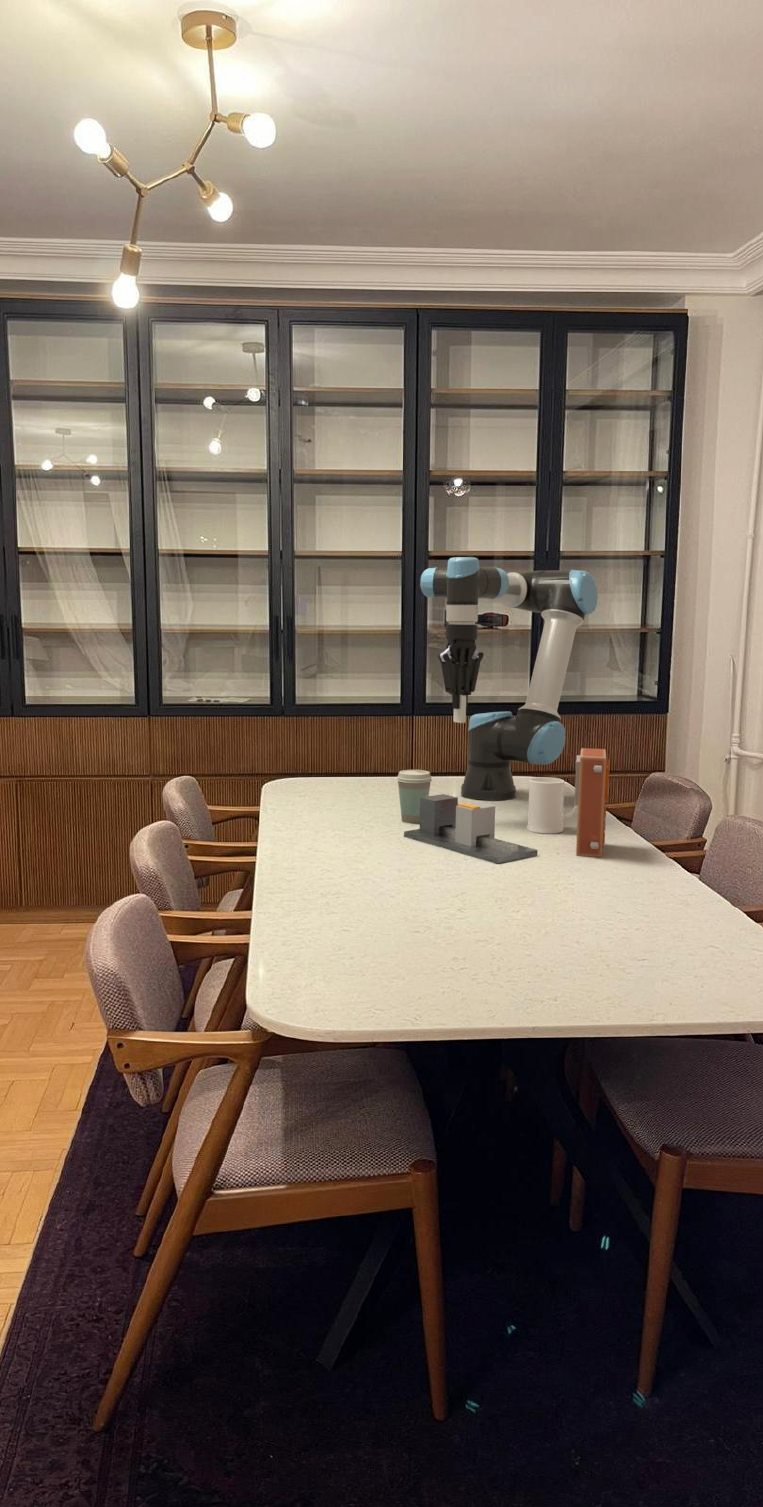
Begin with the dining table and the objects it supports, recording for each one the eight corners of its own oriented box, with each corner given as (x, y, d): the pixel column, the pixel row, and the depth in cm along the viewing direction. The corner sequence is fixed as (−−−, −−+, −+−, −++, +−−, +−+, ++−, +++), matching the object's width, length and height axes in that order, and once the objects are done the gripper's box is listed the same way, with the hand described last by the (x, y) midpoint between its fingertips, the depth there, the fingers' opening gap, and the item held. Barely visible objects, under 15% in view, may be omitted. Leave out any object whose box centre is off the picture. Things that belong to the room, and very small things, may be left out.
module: (455, 841, 227) (456, 804, 226) (478, 837, 231) (479, 800, 230) (471, 846, 223) (471, 808, 222) (494, 841, 227) (495, 804, 226)
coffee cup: (431, 824, 250) (432, 775, 248) (396, 824, 250) (396, 774, 248) (430, 817, 258) (431, 769, 256) (396, 816, 258) (396, 769, 257)
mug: (574, 826, 249) (576, 777, 248) (579, 834, 241) (581, 783, 239) (525, 825, 250) (526, 776, 248) (528, 833, 241) (530, 782, 240)
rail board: (403, 836, 237) (404, 796, 235) (443, 829, 244) (444, 791, 243) (497, 863, 214) (498, 819, 212) (537, 855, 221) (538, 812, 220)
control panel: (604, 842, 233) (605, 858, 219) (573, 841, 235) (571, 856, 220) (609, 748, 230) (609, 758, 215) (576, 747, 231) (575, 757, 217)
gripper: (470, 622, 253) (468, 719, 257) (430, 623, 245) (428, 722, 249) (492, 623, 247) (489, 722, 251) (452, 624, 239) (449, 725, 243)
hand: (459, 722), depth 250 cm, fingers closed
